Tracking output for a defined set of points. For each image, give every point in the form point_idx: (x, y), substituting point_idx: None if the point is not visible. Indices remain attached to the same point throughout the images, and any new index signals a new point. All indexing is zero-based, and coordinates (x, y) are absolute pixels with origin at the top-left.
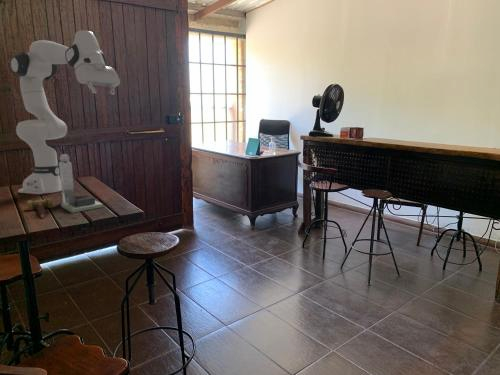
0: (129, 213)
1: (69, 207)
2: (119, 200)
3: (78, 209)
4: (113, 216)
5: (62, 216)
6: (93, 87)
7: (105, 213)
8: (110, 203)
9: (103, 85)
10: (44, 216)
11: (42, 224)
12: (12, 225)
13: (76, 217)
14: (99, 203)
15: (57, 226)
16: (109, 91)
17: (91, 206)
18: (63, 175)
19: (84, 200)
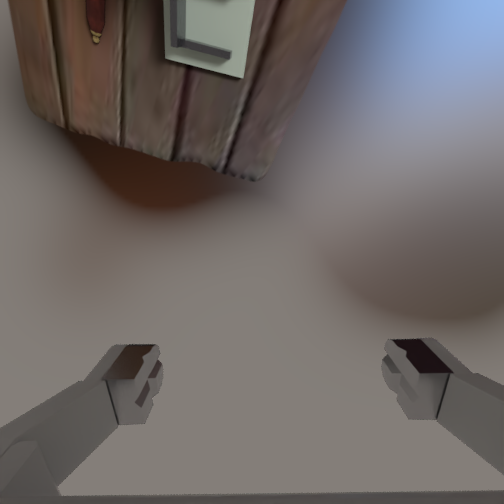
0: (246, 172)
1: (166, 28)
2: (313, 48)
3: (182, 61)
4: (216, 164)
5: (140, 70)
6: (102, 432)
7: (217, 133)
8: (277, 57)
9: (435, 497)
10: (102, 29)
11: (93, 95)
12: (31, 39)
13: (162, 108)
14: (240, 64)
15: (117, 134)
16: (414, 373)
17: (214, 70)
18: None
19: (201, 51)
